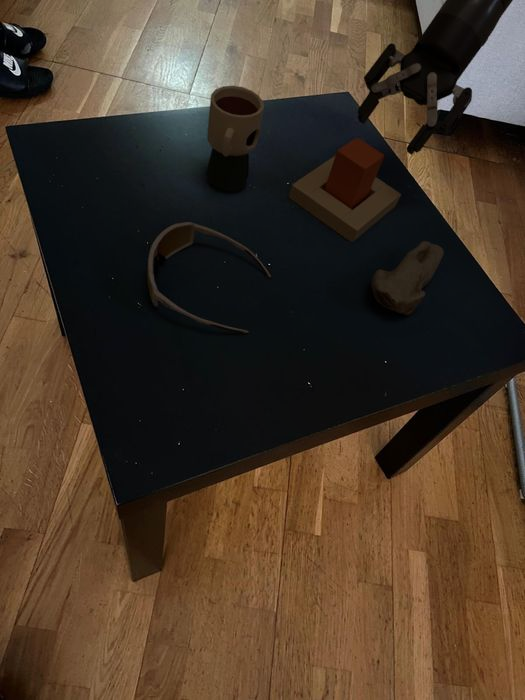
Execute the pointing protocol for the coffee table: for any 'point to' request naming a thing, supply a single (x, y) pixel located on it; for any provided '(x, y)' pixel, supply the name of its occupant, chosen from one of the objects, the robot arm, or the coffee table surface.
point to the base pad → (335, 212)
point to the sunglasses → (174, 242)
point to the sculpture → (407, 279)
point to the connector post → (353, 173)
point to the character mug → (232, 135)
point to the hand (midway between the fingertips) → (384, 136)
